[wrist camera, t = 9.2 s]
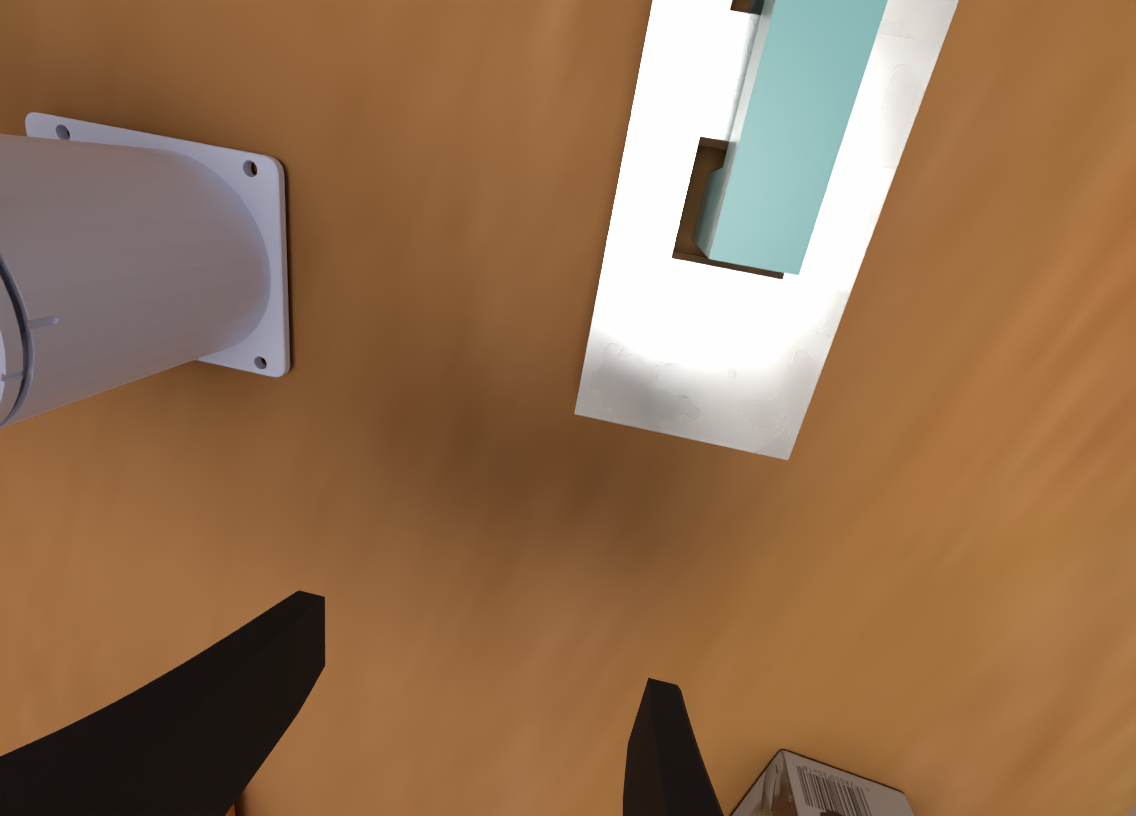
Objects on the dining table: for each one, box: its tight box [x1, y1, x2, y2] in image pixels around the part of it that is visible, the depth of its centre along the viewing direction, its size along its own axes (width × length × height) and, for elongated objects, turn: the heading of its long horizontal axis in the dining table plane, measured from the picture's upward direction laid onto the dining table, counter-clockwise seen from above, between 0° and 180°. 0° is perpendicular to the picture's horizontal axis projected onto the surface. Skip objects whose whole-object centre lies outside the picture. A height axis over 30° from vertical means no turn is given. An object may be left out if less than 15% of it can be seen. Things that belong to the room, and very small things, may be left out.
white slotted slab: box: [574, 0, 959, 460], centre depth 15 cm, size 7×20×2 cm, turn 171°
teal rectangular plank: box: [692, 0, 888, 276], centre depth 13 cm, size 2×8×6 cm, turn 171°
